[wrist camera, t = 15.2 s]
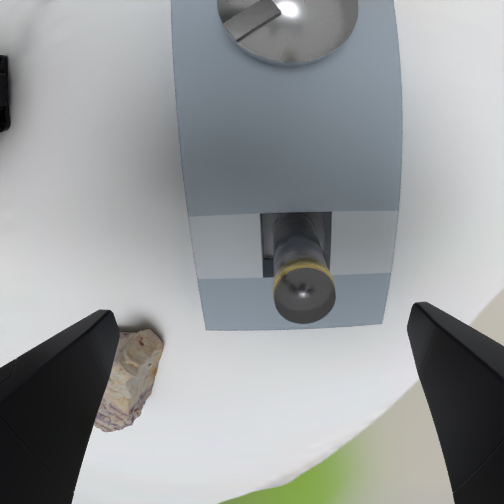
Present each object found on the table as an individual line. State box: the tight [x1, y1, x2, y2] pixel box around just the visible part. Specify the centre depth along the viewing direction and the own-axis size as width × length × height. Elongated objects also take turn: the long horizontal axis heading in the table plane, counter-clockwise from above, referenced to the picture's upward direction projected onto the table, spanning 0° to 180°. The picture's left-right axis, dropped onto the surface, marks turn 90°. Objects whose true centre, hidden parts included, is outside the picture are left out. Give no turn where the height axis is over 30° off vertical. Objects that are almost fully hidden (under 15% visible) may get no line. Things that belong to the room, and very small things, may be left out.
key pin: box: [273, 212, 336, 324], centre depth 17 cm, size 3×3×8 cm
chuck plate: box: [171, 0, 402, 331], centre depth 16 cm, size 12×26×2 cm, turn 3°
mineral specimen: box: [94, 329, 163, 432], centre depth 24 cm, size 13×7×6 cm, turn 159°
